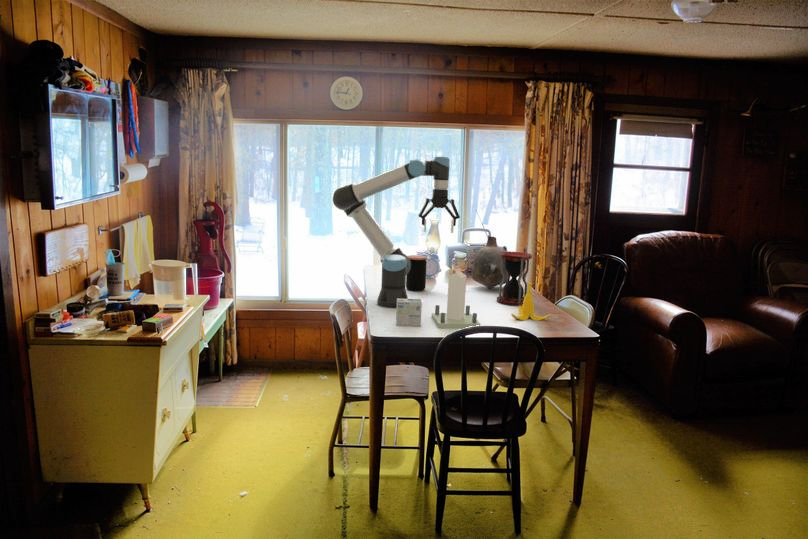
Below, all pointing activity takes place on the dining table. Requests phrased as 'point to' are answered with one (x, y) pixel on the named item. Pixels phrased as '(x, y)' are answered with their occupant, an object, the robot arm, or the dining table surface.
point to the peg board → (443, 322)
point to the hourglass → (513, 278)
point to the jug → (489, 264)
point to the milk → (456, 295)
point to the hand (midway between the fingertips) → (438, 232)
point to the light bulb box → (408, 312)
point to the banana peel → (528, 308)
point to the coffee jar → (416, 273)
